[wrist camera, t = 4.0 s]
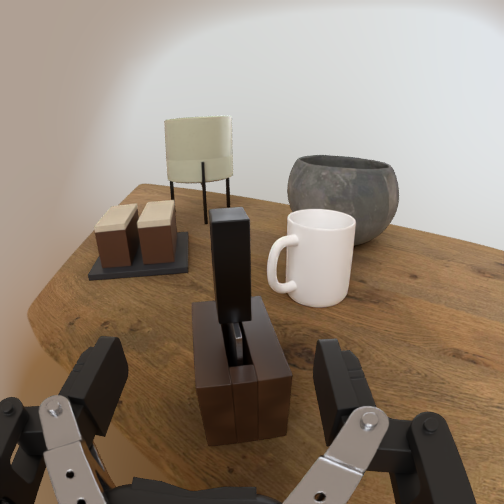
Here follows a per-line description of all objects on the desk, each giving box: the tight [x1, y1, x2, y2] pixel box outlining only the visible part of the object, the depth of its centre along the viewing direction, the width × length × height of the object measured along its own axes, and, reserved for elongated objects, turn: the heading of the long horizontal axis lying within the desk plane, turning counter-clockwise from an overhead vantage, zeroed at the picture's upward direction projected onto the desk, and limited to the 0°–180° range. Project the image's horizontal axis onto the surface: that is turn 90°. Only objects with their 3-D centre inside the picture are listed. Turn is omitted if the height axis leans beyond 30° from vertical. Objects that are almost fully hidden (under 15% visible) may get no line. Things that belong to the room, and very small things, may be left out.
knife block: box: [192, 296, 292, 446], centre depth 24 cm, size 6×10×7 cm, turn 10°
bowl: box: [287, 155, 399, 245], centre depth 56 cm, size 20×20×15 cm
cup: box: [267, 209, 356, 307], centre depth 39 cm, size 8×12×10 cm
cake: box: [88, 200, 188, 280], centre depth 52 cm, size 16×16×8 cm
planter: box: [164, 116, 233, 224], centre depth 72 cm, size 15×16×23 cm
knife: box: [209, 207, 252, 367], centre depth 22 cm, size 2×6×16 cm, turn 10°
